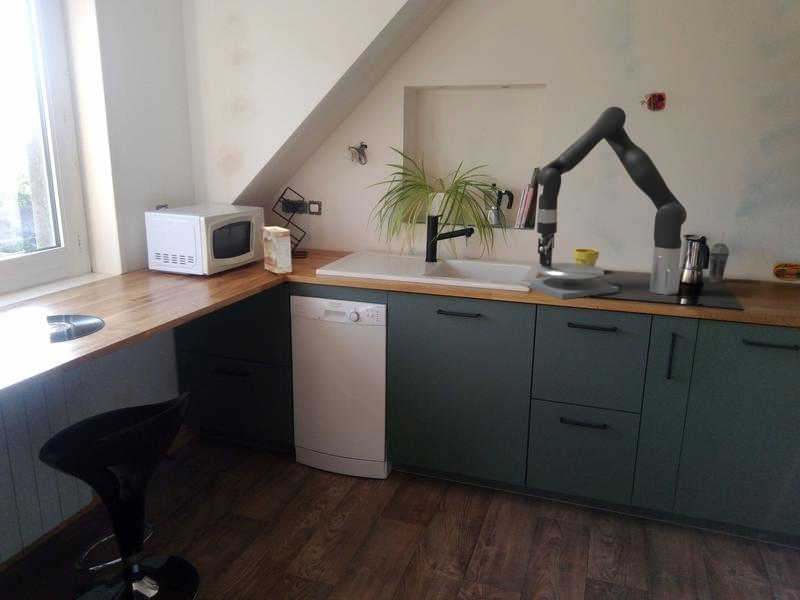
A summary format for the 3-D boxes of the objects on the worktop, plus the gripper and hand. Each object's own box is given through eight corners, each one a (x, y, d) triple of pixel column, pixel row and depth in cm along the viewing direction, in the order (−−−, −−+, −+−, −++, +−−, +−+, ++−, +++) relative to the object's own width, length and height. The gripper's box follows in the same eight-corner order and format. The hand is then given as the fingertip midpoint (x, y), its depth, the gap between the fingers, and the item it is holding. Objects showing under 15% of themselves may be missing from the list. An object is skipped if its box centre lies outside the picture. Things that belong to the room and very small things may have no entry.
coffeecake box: (264, 270, 270) (261, 227, 266) (279, 268, 274) (276, 225, 270) (277, 276, 258) (274, 230, 254) (292, 274, 262) (290, 229, 257)
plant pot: (576, 274, 260) (577, 252, 258) (569, 269, 270) (571, 248, 268) (600, 274, 260) (602, 252, 258) (592, 269, 270) (594, 248, 268)
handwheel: (581, 265, 248) (582, 247, 246) (616, 277, 224) (618, 257, 222) (525, 268, 242) (526, 249, 240) (556, 281, 218) (557, 260, 216)
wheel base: (618, 292, 228) (619, 277, 226) (562, 299, 218) (563, 283, 217) (573, 279, 251) (574, 265, 250) (521, 284, 241) (521, 270, 240)
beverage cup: (701, 280, 249) (707, 231, 244) (713, 278, 252) (719, 230, 247) (717, 283, 243) (724, 234, 238) (729, 281, 246) (736, 233, 241)
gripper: (542, 218, 241) (541, 258, 246) (532, 222, 229) (530, 264, 234) (561, 218, 238) (559, 259, 242) (551, 223, 226) (550, 266, 230)
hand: (545, 261), depth 238 cm, fingers open, 8 cm apart
